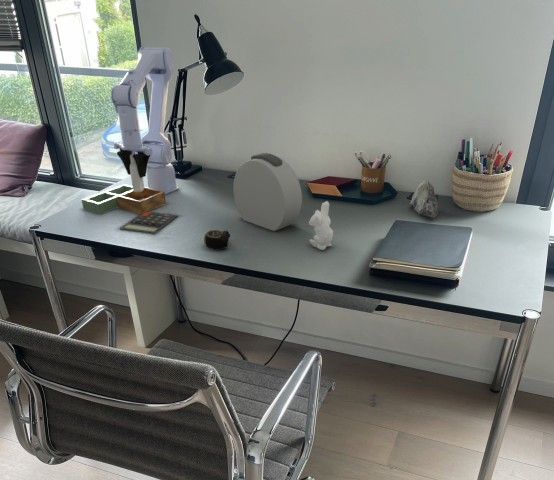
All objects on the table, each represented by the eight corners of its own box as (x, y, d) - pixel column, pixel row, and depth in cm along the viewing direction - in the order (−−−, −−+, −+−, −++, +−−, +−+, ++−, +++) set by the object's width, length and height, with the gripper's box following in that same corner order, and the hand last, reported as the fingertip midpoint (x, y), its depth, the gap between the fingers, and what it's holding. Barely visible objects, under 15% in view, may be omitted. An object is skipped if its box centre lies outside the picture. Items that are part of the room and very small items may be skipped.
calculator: (177, 214, 175) (154, 232, 163) (178, 217, 175) (154, 235, 164) (144, 210, 178) (119, 227, 166) (144, 213, 178) (119, 230, 167)
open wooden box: (144, 198, 188) (142, 186, 186) (166, 203, 184) (164, 191, 181) (119, 208, 181) (117, 195, 178) (141, 214, 176) (139, 201, 174)
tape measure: (227, 251, 153) (227, 238, 151) (203, 251, 153) (201, 238, 151) (230, 241, 159) (230, 229, 157) (206, 241, 159) (205, 228, 157)
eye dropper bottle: (149, 188, 180) (144, 149, 173) (138, 193, 176) (132, 154, 169) (139, 186, 182) (133, 147, 175) (127, 191, 178) (121, 152, 171)
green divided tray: (125, 193, 192) (124, 184, 190) (142, 197, 189) (140, 188, 187) (83, 209, 180) (81, 199, 178) (100, 214, 176) (98, 204, 174)
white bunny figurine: (316, 239, 160) (317, 197, 153) (338, 243, 158) (341, 201, 151) (304, 250, 154) (305, 207, 147) (327, 254, 151) (329, 211, 144)
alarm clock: (301, 227, 167) (303, 159, 155) (284, 234, 163) (285, 164, 151) (251, 210, 179) (249, 145, 167) (234, 216, 174) (231, 150, 163)
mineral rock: (433, 224, 169) (438, 191, 163) (398, 217, 173) (403, 185, 168) (445, 210, 178) (450, 178, 172) (412, 205, 183) (416, 173, 177)
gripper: (103, 128, 169) (111, 174, 177) (137, 135, 162) (144, 182, 170) (120, 124, 174) (127, 169, 182) (154, 130, 167) (160, 176, 175)
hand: (136, 175), depth 176 cm, fingers closed on eye dropper bottle, 4 cm apart
